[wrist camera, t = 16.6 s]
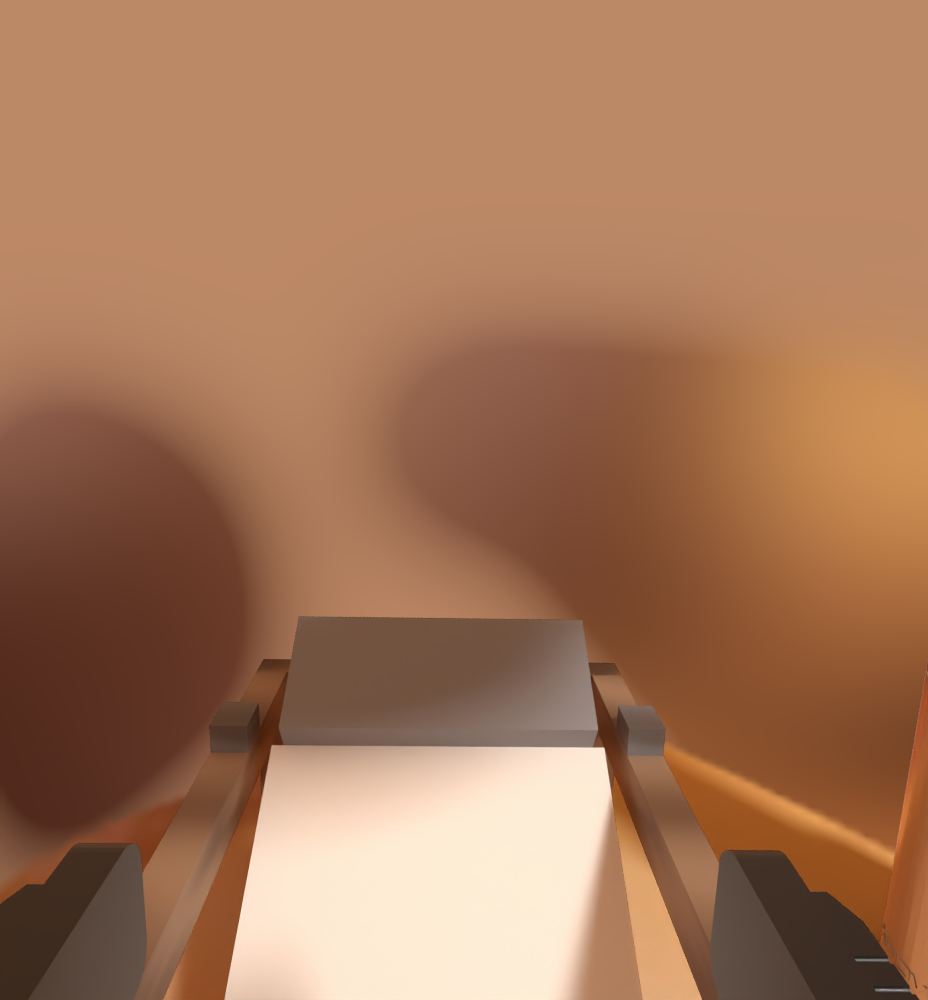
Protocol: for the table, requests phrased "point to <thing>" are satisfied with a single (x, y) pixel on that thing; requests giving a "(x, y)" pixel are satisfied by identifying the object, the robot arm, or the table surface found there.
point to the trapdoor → (436, 821)
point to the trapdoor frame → (255, 728)
